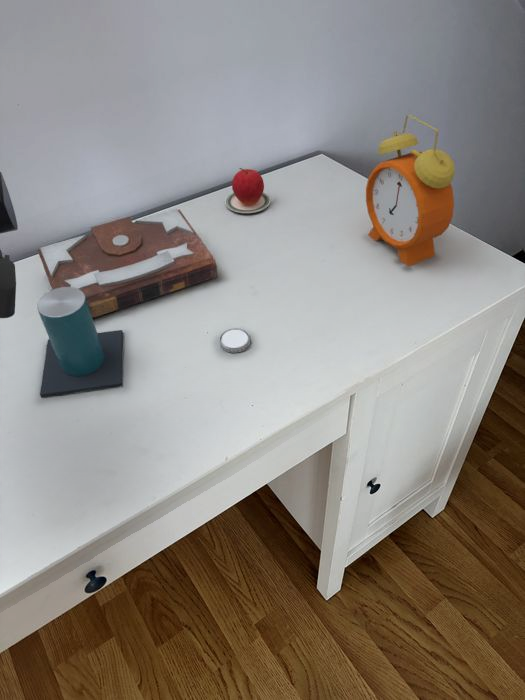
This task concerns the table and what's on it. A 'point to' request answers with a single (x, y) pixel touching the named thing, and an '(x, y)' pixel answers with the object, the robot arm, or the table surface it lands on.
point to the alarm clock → (410, 197)
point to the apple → (247, 193)
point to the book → (130, 261)
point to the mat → (102, 378)
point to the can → (71, 330)
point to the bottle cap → (234, 340)
